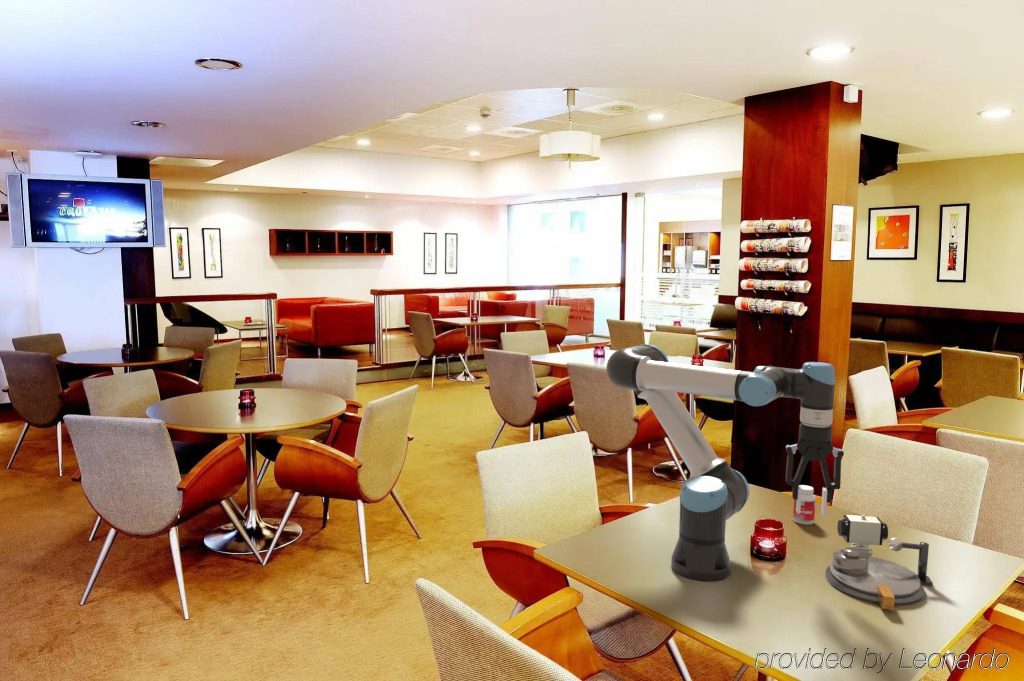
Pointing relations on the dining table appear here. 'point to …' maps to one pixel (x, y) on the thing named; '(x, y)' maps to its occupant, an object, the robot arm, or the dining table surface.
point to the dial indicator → (923, 549)
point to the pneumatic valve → (862, 532)
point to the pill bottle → (805, 506)
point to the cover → (850, 562)
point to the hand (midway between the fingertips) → (810, 512)
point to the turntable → (882, 581)
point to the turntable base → (873, 598)
